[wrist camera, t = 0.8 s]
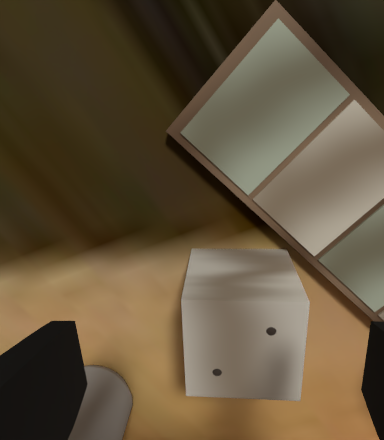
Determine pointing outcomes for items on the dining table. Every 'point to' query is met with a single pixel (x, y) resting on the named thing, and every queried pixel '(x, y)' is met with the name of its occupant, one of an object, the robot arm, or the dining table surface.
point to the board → (297, 152)
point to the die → (244, 324)
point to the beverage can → (103, 406)
